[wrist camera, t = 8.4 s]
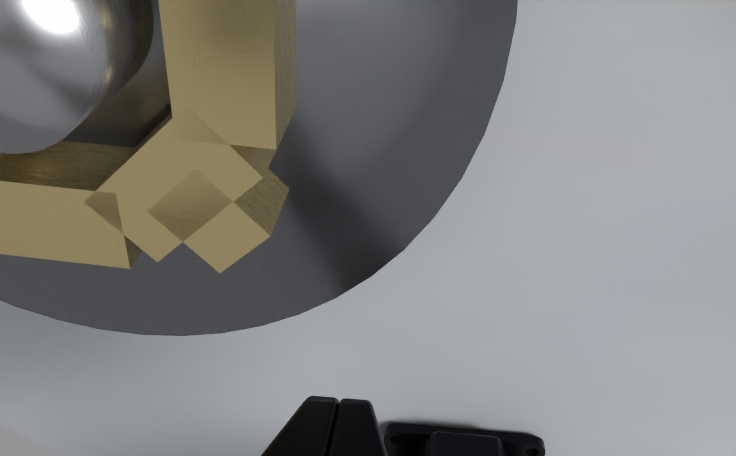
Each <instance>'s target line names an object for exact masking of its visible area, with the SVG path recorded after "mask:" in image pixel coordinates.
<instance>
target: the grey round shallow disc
mask: <svg viewBox="0 0 736 456" xmlns="http://www.w3.org/2000/svg"><path fill="white" fill-rule="evenodd" d="M517 1H518V0H296V109H295V111H294V113H293V116H292V118H291V120H290V122H289V124H288V126H287V128H286V130H285V132H284V135H283V137H282V140H281V142H280V144H279V146H278V148H277V150H276V152H275V154H274V156H273V158H272V160H271V162H270V165H269V167H268V168H269V169H270V170H271V171H272V172H273V173H274V174H275V175H276V176H277V177H278V178H279V179H280V180H281V181H282V182H283V183H284V184H285V185H286V186H287V187H288V188H289V191H288V194H287V196H286V199H285V201H284V204H283V206H282V209H281V211H280V214H279V216H278V219H277V221H276V224H275V226H274V229H273V231H272V234H271V236H270V237H269V238H268V239H266V240H265V241H263V242H262V243H261V244H259V245H258V246H257V247H255V248H254V249H253V250H251V251H250V252H248V253H247V254H246V255H244V256H243V257H242V258H240V259H239V260H238V261H236V262H235V263H234V264H232V265H231V266H229V267H228V268H227V269H225V270H224V271H223V272H221V273H219V272H218V271H216V270H215V269H214V268H213V267H212V266H210V265H209V264H208V263H207V262H206V261H205V260H203V259H202V258H201V257H200V256H199V255H198V254H196V253H195V252H194V251H193V250H192V249H190V248H189V247H188V246H187V245H186V244H185V243H183V242H182V243H181V244H180V245H179V246H177V247H176V248H175V249H174V250H172V251H171V252H170V253H169V254H167V255H166V256H165V257H163V258H162V259H161V260H160V261H158V262H156V261H155V260H154V259H153V258H151V257H150V256H149V255H148V254H147V253H145V252H144V251H143V250H142V252H141V253H140V255H139V256H138V258H137V259H136V261H135V262H134V264H133V265H132V267H131V268H130V269H128V268H119V267H110V266H101V265H92V264H83V263H75V262H66V261H57V260H48V259H39V258H30V257H22V256H13V255H4V254H0V300H1V301H4V302H6V303H9V304H11V305H14V306H16V307H19V308H22V309H26V310H29V311H32V312H35V313H38V314H41V315H45V316H48V317H51V318H54V319H57V320H61V321H66V322H70V323H75V324H79V325H84V326H88V327H93V328H97V329H103V330H110V331H118V332H126V333H134V334H142V335H172V336H187V335H201V334H215V333H225V332H230V331H236V330H241V329H247V328H252V327H258V326H263V325H266V324H269V323H272V322H276V321H279V320H282V319H285V318H289V317H292V316H295V315H299V314H301V313H303V312H305V311H308V310H310V309H312V308H314V307H317V306H319V305H321V304H323V303H326V302H328V301H330V300H332V299H335V298H337V297H338V296H340V295H341V294H343V293H345V292H346V291H348V290H350V289H351V288H353V287H355V286H356V285H358V284H359V283H361V282H363V281H364V280H366V279H368V278H369V277H371V276H372V275H373V274H375V273H376V272H377V271H378V270H380V269H381V268H382V267H383V266H384V265H386V264H387V263H388V262H389V261H391V260H392V259H393V258H394V257H396V256H397V255H398V254H399V253H400V252H402V251H403V250H404V249H405V248H406V247H407V246H408V245H409V244H410V243H411V242H412V240H413V239H414V238H415V237H416V236H417V235H418V234H419V233H420V232H421V231H422V230H423V229H424V228H425V227H426V225H427V224H428V223H429V222H430V221H431V220H432V219H433V218H434V217H435V215H436V214H437V213H438V211H439V210H440V208H441V207H442V205H443V204H444V203H445V201H446V200H447V198H448V197H449V195H450V194H451V193H452V191H453V190H454V188H455V187H456V186H457V184H458V183H459V181H460V180H461V178H462V176H463V174H464V173H465V171H466V169H467V167H468V165H469V163H470V161H471V159H472V157H473V155H474V153H475V151H476V149H477V147H478V145H479V143H480V142H481V140H482V138H483V136H484V134H485V131H486V128H487V126H488V123H489V120H490V117H491V114H492V111H493V109H494V106H495V103H496V100H497V97H498V94H499V92H500V89H501V86H502V83H503V80H504V75H505V70H506V66H507V61H508V56H509V52H510V47H511V42H512V37H513V33H514V28H515V23H516V14H517ZM171 112H172V110H171V102H170V93H169V85H168V77H167V69H166V60H165V52H164V44H163V35H162V27H161V19H160V10H159V2H158V0H0V153H7V154H22V153H29V152H35V151H39V150H42V149H45V148H48V147H50V146H52V145H54V144H56V143H58V142H59V141H60V140H62V141H72V142H82V143H91V144H101V145H110V146H120V147H129V148H135V147H136V146H137V145H138V144H139V143H140V142H141V141H142V140H143V139H144V138H145V137H146V136H147V135H148V134H149V133H150V132H151V131H152V130H154V129H155V128H156V127H157V126H158V125H159V124H160V123H161V122H162V121H163V120H164V119H165V118H166V117H167V116H168V115H169V114H170V113H171Z"/></svg>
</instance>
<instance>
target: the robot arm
mask: <svg viewBox="0 0 736 456" xmlns="http://www.w3.org/2000/svg"><path fill="white" fill-rule="evenodd" d="M261 456H545V447H544V442H543V440H542V439H541V438H539V437H536V436H528V435H517V434H505V433H494V432H483V431H471V430H460V429H449V428H438V427H426V426H415V425H404V424H391V425H389V426H387V427H386V429H385V433H384V442H383V439H382V436H381V432H380V429H379V426H378V422H377V419H376V416H375V412H374V409H373V406H372V404H371V402H370V401H368V400H359V399H342V400H341V401H340V403H339V400H338V399H336V398H333V397H320V396H311V397H308V398H307V399H306V400H305V401H304V402H303V403H302V405H301V406H300V407H299V408H298V410H297V411H296V412H295V414H294V415H293V416H292V417H291V419H290V420H289V421H288V422H287V424H286V425H285V426H284V427H283V429H282V430H281V431H280V432H279V434H278V435H277V436H276V437H275V439H274V440H273V441H272V442H271V444H270V445H269V446H268V447H267V449H266V450H265V451H264V452H263V454H262V455H261Z"/></svg>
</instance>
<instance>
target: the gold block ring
mask: <svg viewBox="0 0 736 456" xmlns="http://www.w3.org/2000/svg"><path fill="white" fill-rule="evenodd" d="M158 2H159V10H160V19H161V27H162V35H163V44H164V52H165V60H166V69H167V77H168V85H169V93H170V102H171V110H172V112H171V113H170V114H169V115H168V116H167V117H166V118H165V119H164V120H163V121H162V122H161V123H160V124H159V125H158V126H157V127H156V128H155V129H154V130H152V131H151V132H150V133H149V134H148V135H147V136H146V137H145V138H144V139H143V140H142V141H141V142H140V143H139V144H138V145H137V146H136V147H135V148H129V147H120V146H110V145H101V144H91V143H82V142H72V141H62V140H60V141H59V142H58V143H56V144H54V145H52V146H50V147H48V148H45V149H42V150H39V151H35V152H29V153H22V154H7V153H0V254H4V255H13V256H22V257H30V258H39V259H48V260H57V261H66V262H75V263H83V264H92V265H101V266H110V267H119V268H128V269H130V268H131V267H132V265H133V264H134V262H135V261H136V259H137V258H138V256H139V255H140V253H141V252H142V250H143V251H144V252H145V253H147V254H148V255H149V256H150V257H151V258H153V259H154V260H155V261H156V262H158V261H160V260H161V259H162V258H163V257H165V256H166V255H167V254H169V253H170V252H171V251H172V250H174V249H175V248H176V247H177V246H179V245H180V244H181V243H182V242H183V243H185V244H186V245H187V246H188V247H189V248H190V249H192V250H193V251H194V252H195V253H196V254H198V255H199V256H200V257H201V258H202V259H203V260H205V261H206V262H207V263H208V264H209V265H210V266H212V267H213V268H214V269H215V270H216V271H218V272H219V273H221V272H223V271H224V270H225V269H227V268H228V267H229V266H231V265H232V264H234V263H235V262H236V261H238V260H239V259H240V258H242V257H243V256H244V255H246V254H247V253H248V252H250V251H251V250H253V249H254V248H255V247H257V246H258V245H259V244H261V243H262V242H263V241H265V240H266V239H268V238H269V237H270V236H271V234H272V231H273V229H274V226H275V224H276V221H277V219H278V216H279V214H280V211H281V209H282V206H283V204H284V201H285V199H286V196H287V194H288V191H289V188H288V187H287V186H286V185H285V184H284V183H283V182H282V181H281V180H280V179H279V178H278V177H277V176H276V175H275V174H274V173H273V172H272V171H271V170H270V169H269V168H268V167H269V165H270V162H271V160H272V158H273V156H274V154H275V152H276V150H277V148H278V146H279V144H280V142H281V140H282V137H283V135H284V132H285V130H286V128H287V126H288V124H289V122H290V120H291V118H292V116H293V113H294V111H295V109H296V0H158Z"/></svg>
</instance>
